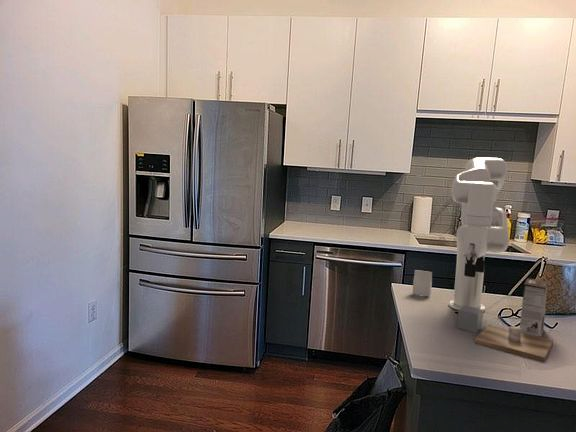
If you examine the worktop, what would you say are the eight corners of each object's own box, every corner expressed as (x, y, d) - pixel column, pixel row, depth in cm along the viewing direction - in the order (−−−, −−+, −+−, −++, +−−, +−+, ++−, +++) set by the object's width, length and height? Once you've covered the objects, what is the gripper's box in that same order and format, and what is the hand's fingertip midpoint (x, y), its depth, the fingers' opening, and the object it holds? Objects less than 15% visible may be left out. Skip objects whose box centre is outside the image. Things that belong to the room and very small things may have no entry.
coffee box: (522, 324, 145) (526, 277, 143) (544, 328, 141) (549, 281, 139) (518, 332, 137) (523, 283, 135) (541, 337, 134) (546, 287, 132)
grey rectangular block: (429, 297, 172) (431, 273, 171) (412, 294, 175) (414, 270, 174) (430, 295, 175) (432, 271, 174) (414, 292, 178) (415, 269, 177)
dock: (488, 328, 140) (490, 314, 139) (552, 344, 128) (554, 329, 128) (474, 342, 127) (476, 327, 127) (544, 361, 116) (545, 345, 116)
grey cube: (462, 322, 144) (464, 305, 143) (481, 327, 140) (483, 309, 139) (457, 327, 139) (458, 309, 138) (476, 332, 135) (477, 314, 135)
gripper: (474, 218, 145) (469, 268, 146) (457, 221, 131) (453, 276, 133) (498, 221, 140) (493, 272, 142) (483, 224, 126) (478, 280, 128)
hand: (474, 274), depth 137 cm, fingers open, 9 cm apart
